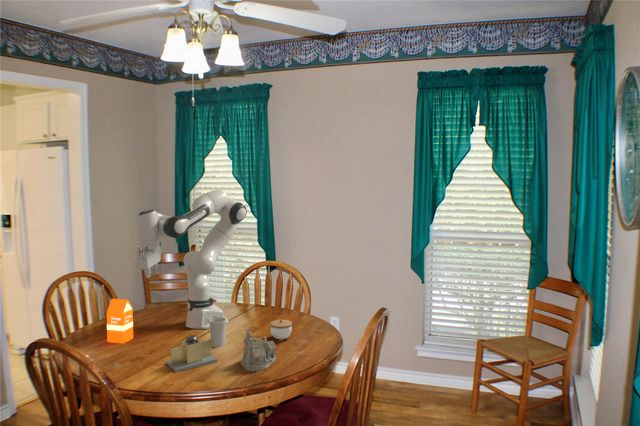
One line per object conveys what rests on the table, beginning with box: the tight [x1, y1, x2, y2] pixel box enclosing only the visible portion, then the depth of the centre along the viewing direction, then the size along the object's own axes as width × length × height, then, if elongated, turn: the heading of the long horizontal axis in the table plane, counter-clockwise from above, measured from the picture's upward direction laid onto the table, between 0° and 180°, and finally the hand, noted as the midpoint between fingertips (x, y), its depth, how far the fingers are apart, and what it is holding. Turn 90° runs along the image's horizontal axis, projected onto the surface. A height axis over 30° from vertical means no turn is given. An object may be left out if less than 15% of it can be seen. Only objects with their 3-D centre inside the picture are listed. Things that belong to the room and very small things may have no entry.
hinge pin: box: [186, 335, 197, 344], centre depth 193 cm, size 4×4×10 cm
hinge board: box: [165, 355, 218, 373], centre depth 194 cm, size 18×11×1 cm, turn 128°
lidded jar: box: [269, 319, 293, 340], centre depth 225 cm, size 11×11×9 cm
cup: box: [209, 317, 227, 348], centre depth 215 cm, size 8×8×12 cm
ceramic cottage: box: [240, 328, 277, 373], centre depth 195 cm, size 16×16×15 cm
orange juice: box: [106, 298, 134, 344], centre depth 219 cm, size 8×9×20 cm
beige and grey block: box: [170, 337, 213, 365], centre depth 193 cm, size 18×7×8 cm, turn 128°
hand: (151, 275), depth 210 cm, fingers open, 8 cm apart
